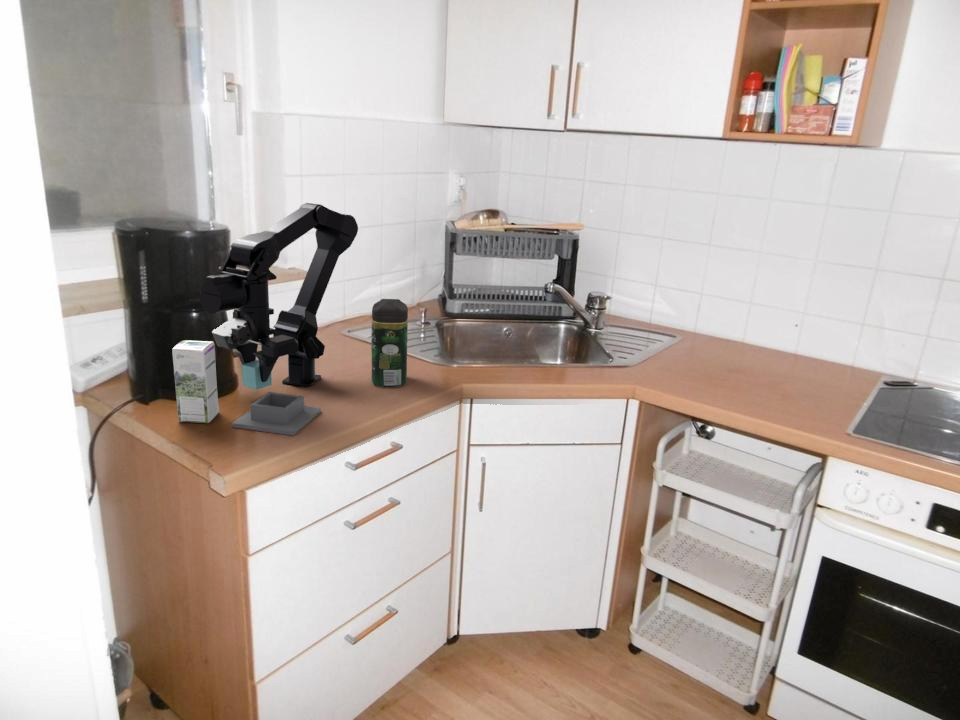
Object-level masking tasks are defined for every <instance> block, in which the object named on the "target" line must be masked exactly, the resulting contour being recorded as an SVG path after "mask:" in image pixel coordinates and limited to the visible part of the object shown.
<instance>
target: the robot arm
mask: <svg viewBox="0 0 960 720" xmlns="http://www.w3.org/2000/svg"><path fill="white" fill-rule="evenodd" d="M312 229H314V230H316V231H315V234H314V235H315V238H316V239H315V240H316V250H315V253H314V255H313V258H312V260H311V263H310V264H309V266H308V267H309V268H308V270H307V272H306V275H305V277H304V279H303V282H302V285H301V287H300V289H299V292H298V295H297V296H296V300H295V302H294V304H293V306H292V307H291V308H290V309H289V310H282V309H281V311H280V312H279V313H278V317H277V320H276V322H275V323H274V324H273V328H272V327H271V325H270V316H271V315H274V314H275V310H274V308H271V307H270V301H269V300H270V298H269V297H270V296H269V281H274V280H277V279H278V277H277V275H276V274H274V273H273V272H272V271H271V270H270V268H271V267H272V266H273V265H274V264H275V263H276V262H277V261H278V260H279V258H280V254H281V252H282V251H283V250H284V249H285V248H287V247H288V246H289V245H291V244H292V243H294V242H296V241H297V240H298V239H300V238H301V237H302V236H304V235H306V234H307V233H308V232H309V231H311V230H312ZM358 231H359V227H358V223H357V221H356V218H355V217H354V216H353V215H351V214H345V213H341V212H337V211H335V210H332V209H330V208H328V207H326V206H324V205H322V204H318V203H309V202H305V203H303V204H301V205H300V206H299V208H298V209H296V210H295V211H293V212H291V213H290V214H288V215H286V216H285V217H284V218H282V219H280V221H278V222H276V223H275V224H273V225H272V226H270V227H268V228H267V229H266V230H264V231H260V232H256V233H252V234H247V235H245V236H243V237H239V238H237V239H235V240H234V241H233V242H232V243H231V244H230V247H231V248H230V251H229V252H228V254H227V256H226V257H225V260H224V262H223V264H222V266H221V268H220V269H219V272H218V274H219V275H214V274H213V275H212V274H211V275H207V276H206V277H205V279H206V280H205V281H206V282H205V283H204V284H203V285H201V288H200V292H199V293H198V294H199V301H200V304H201V306H202V308H203V309H204V310H205V311H206V312H207V313H209V314H219V313H224V312H228V311H232V310H233V311H232V318H231V319H230V320H227V321H225V322H223V323H222V325H221V324H219V325H220V326H219V327H217V328H216V329H215V328H214V329H213V330H212V331H211V333H212V336H213V339H214V338H215V339H214V341H215V342H216V346H217V347H219V348H225V349H226V350H229V351H230V350H231V351H232V350H233V351H234V352H235V353H236V354H237V357H238V359H239V361H240V363H241V365H242V364H245V363H249V362H252V361H256V360H259V368H260V376H261V381H262V382H266V381H267V380H268V378H269V376H270V374H271V375H272V372H273V369H274V367H275V365H276V363H277V361H278V359H279V357H283V356H287V369H288V374H287V375H288V376H287V377H286V378H284V379H282V381H281V383H282V384H286V385H287V384H288V385H294V386H302V387H312V385H314V384H315V383H316V382H318V381H319V380H320V379H321V378H322V375H320V374H316V359H317V360H318V359H320V357H321V356H323V355H324V353H325V349H326V345H325V344H324V343H323V342H322V341H321V340H320V339H319V338H318V337H317V334H318V329H319V326H318V320H317V313H318V311H319V308H320V306H321V304H322V303H321V302H322V300H323V297H324V295H325V293H326V291H327V288H328V285H329V282H330V279H331V278H332V274H333V273H334V270H335V267H336V265H337V262H338V260H339V258H340V256H341V255H342V254H343V253H344V252H346V251H347V250H349V248H350V247H351V246H352V244H353V242H354V241H355V238H356V237H357V236H358ZM270 336H271V337H270ZM258 345H259V346H260V347H259V349H260V350H258Z"/></svg>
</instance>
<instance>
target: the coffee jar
mask: <svg viewBox="0 0 960 720" xmlns="http://www.w3.org/2000/svg"><path fill="white" fill-rule="evenodd" d="M371 309H372V311H371V335H370V336H371V339H370V340H371V347H370V348H371V382H372V384H373V385H374V386H376V387H382V388H385V389H394V388H397V387H403V386H405V384H406V382H407V376H408V371H407V369H408V361H407V359H408V328H409V327H408V325H409V324H408V322H409V321H408V318H409V314H408V313H409V308H408V306H407V304H406V303H405V302H404V301H401V300H400V299H398V298H381V299H380V300H379V301H376V302H375V303H374V304H373V305H372V308H371Z"/></svg>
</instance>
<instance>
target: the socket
mask: <svg viewBox="0 0 960 720" xmlns="http://www.w3.org/2000/svg"><path fill="white" fill-rule="evenodd" d="M249 407H250V410H249V411H247V412H246V413H245V414H243V415H242V416H241V417H239V418H237V419H235V420H234V421H233V422H232V424H231V425H232V428H236V429H244V430H249V431H250V430H251V431H258V432H264V433H265V432H266V433H272V434H277V435H287V436H292V435H293V436H295V435H296V434H298V433H299V432H300V431H301V430H302V429H303V428H304V427H305V426H306V425H308V424H309V423H310V422H311V421H312V420H313V419H314V418H316V417H317V416H318V415H319V414H320V413H321V412H322V407H316V406H309V405H305V396H303V395H297V394H296V395H295V394H289V393H282V392H274V391H268V392H267V393H265V394H264V395H263V396H261V397H260V398H258V399H256V401H254V402H252V403H251V404H250V406H249ZM293 436H292V437H293Z"/></svg>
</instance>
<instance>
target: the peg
mask: <svg viewBox="0 0 960 720" xmlns="http://www.w3.org/2000/svg"><path fill="white" fill-rule="evenodd" d="M241 376H242V377H241V379H242V386H243V387H246V388H249V389H251V390H254V391H257V390H260V389H265V388H267V387H270V386H272V384H273V383H272V382H273V381H272V379H273V378H272V373H271V374H270V376H269V378H268V380H267V381H266V382H262V381H261V376H260V368H259V359H256V361H252V362H249V363H245V364H242V363H241Z"/></svg>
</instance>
